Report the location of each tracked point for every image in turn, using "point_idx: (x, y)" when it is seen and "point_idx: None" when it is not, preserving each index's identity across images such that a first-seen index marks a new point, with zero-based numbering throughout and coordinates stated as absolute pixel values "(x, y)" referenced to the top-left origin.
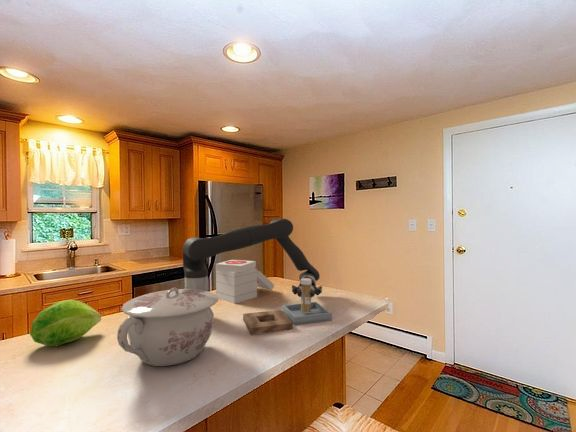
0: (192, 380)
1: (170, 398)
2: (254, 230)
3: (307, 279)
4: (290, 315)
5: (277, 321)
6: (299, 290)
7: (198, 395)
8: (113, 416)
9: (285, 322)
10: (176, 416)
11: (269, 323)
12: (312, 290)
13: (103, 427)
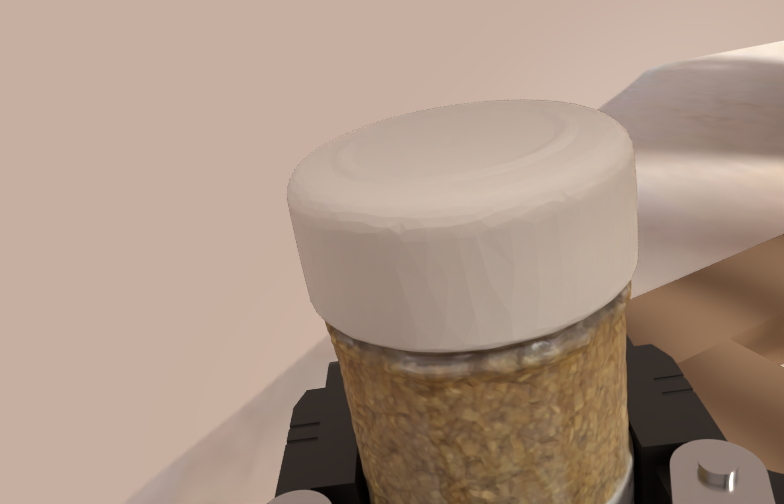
0: (728, 99)
1: (713, 78)
2: None
3: (404, 140)
4: None
5: (719, 319)
6: (654, 387)
7: (657, 92)
8: (770, 50)
9: (633, 322)
10: (648, 74)
11: (760, 282)
12: (322, 456)
13: (753, 46)
